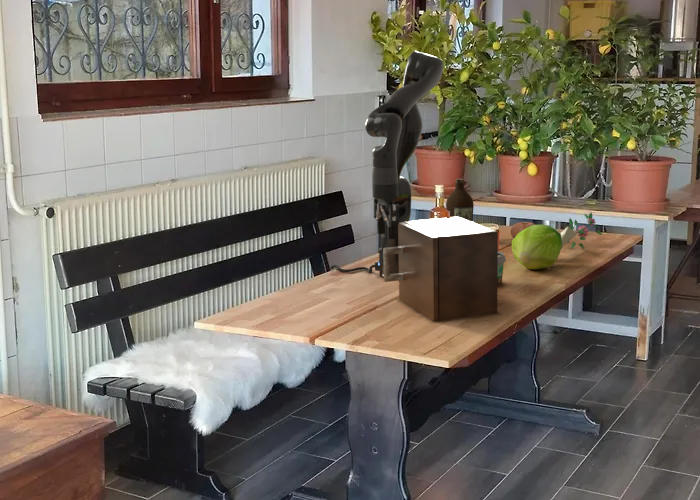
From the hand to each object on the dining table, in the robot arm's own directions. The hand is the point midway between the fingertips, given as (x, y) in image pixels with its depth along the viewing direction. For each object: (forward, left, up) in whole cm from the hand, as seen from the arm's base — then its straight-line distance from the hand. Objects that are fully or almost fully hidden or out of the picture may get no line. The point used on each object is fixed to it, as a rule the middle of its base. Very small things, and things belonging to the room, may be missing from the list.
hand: (386, 236), depth 276 cm
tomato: (+13, +101, -21) cm, 104 cm away
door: (+9, -5, -21) cm, 23 cm away
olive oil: (-10, +91, -21) cm, 94 cm away
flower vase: (+33, +88, -21) cm, 96 cm away
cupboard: (+18, +4, -21) cm, 28 cm away
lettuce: (+29, +58, -21) cm, 68 cm away
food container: (+23, +33, -21) cm, 45 cm away
